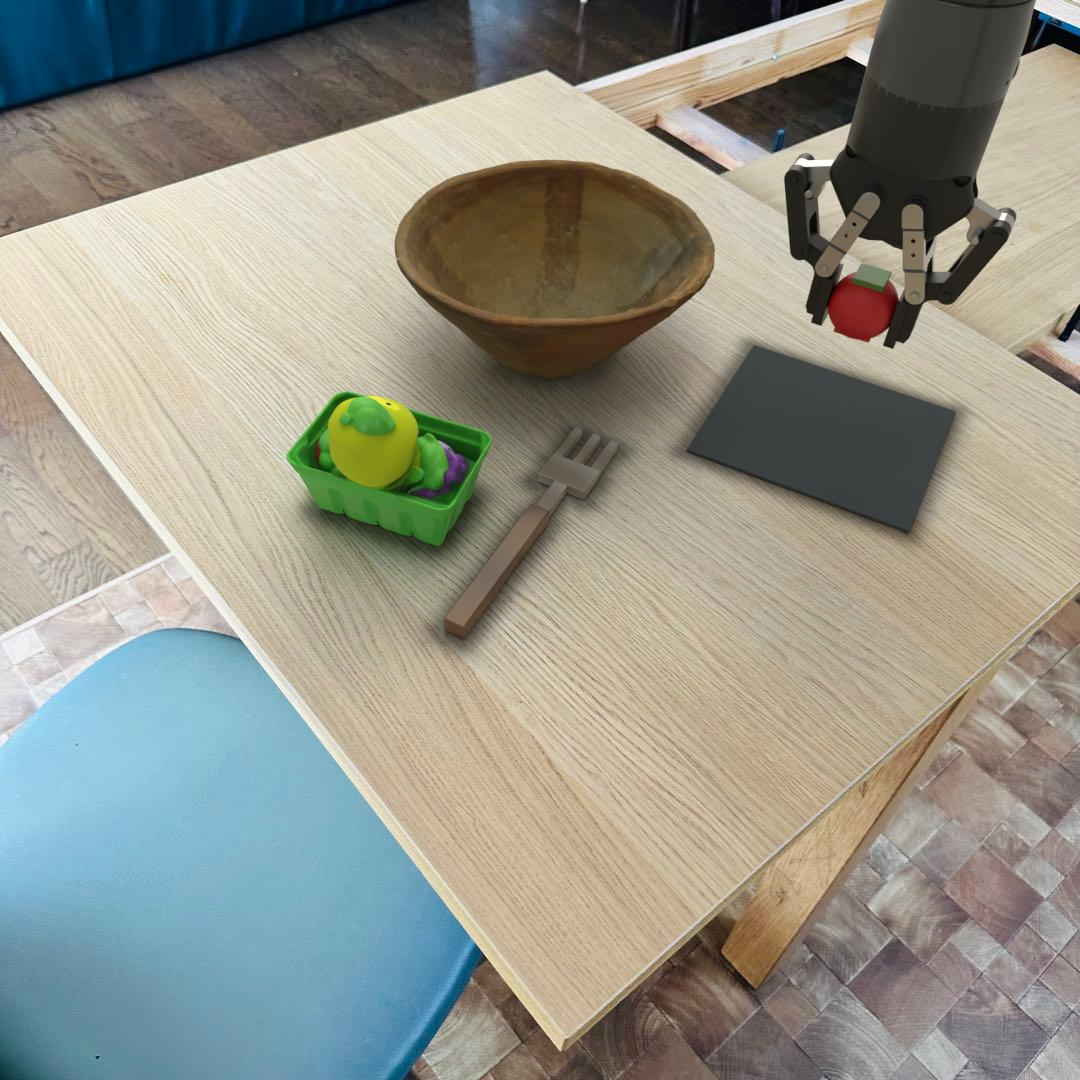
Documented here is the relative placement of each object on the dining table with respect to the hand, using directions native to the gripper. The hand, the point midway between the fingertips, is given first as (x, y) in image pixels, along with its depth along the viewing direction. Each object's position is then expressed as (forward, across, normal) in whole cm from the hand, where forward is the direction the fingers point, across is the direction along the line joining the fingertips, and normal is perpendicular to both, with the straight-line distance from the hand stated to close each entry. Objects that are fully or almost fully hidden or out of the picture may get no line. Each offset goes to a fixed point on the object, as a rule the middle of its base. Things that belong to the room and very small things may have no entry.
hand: (855, 328), depth 68 cm
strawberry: (0, 0, 0) cm, 0 cm away
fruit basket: (+9, -23, -22) cm, 33 cm away
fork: (+9, -14, -20) cm, 26 cm away
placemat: (+9, 0, 0) cm, 9 cm away
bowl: (+9, -22, -1) cm, 24 cm away
